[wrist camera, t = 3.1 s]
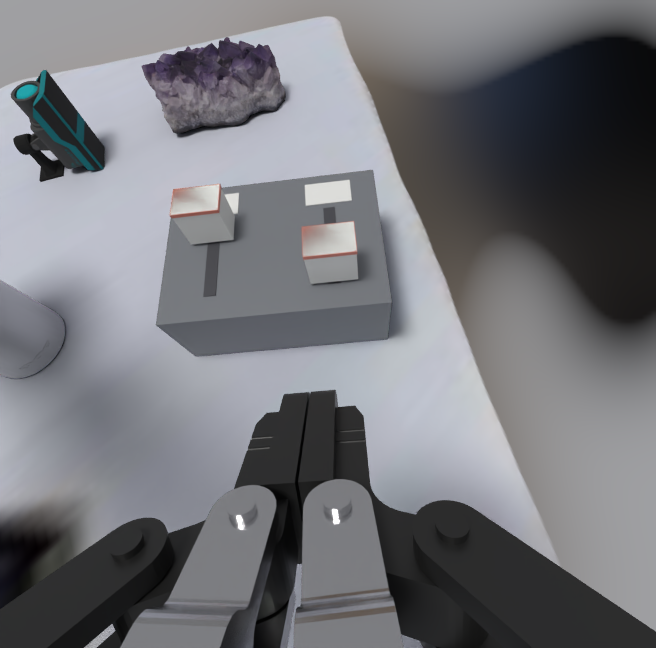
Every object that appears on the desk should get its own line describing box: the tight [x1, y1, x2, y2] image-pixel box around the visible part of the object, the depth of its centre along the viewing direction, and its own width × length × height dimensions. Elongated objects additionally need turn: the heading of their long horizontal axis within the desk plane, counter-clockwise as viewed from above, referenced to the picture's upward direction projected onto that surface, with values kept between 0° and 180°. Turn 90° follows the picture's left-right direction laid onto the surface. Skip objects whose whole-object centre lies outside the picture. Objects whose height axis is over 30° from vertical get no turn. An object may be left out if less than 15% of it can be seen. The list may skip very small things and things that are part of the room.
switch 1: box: [170, 184, 235, 244], centre depth 37 cm, size 3×4×4 cm
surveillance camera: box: [11, 70, 104, 182], centre depth 54 cm, size 6×12×10 cm
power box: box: [156, 170, 392, 356], centre depth 42 cm, size 16×22×9 cm
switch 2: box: [302, 221, 358, 284], centre depth 34 cm, size 3×4×4 cm
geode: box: [142, 37, 285, 133], centre depth 57 cm, size 20×12×10 cm, turn 99°
